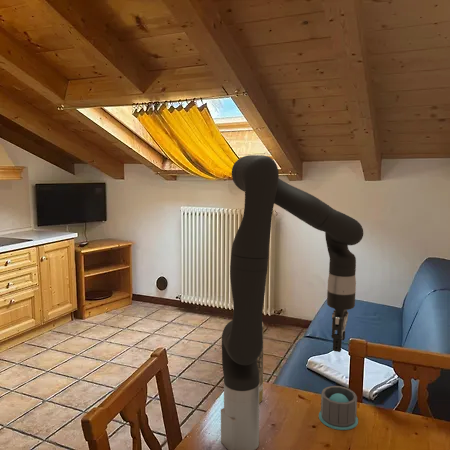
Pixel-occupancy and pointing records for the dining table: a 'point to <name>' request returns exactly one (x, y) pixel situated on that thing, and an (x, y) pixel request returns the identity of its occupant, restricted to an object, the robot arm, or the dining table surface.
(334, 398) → the ball
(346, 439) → the dining table surface
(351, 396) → the grey ribbed round container
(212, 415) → the dining table surface
